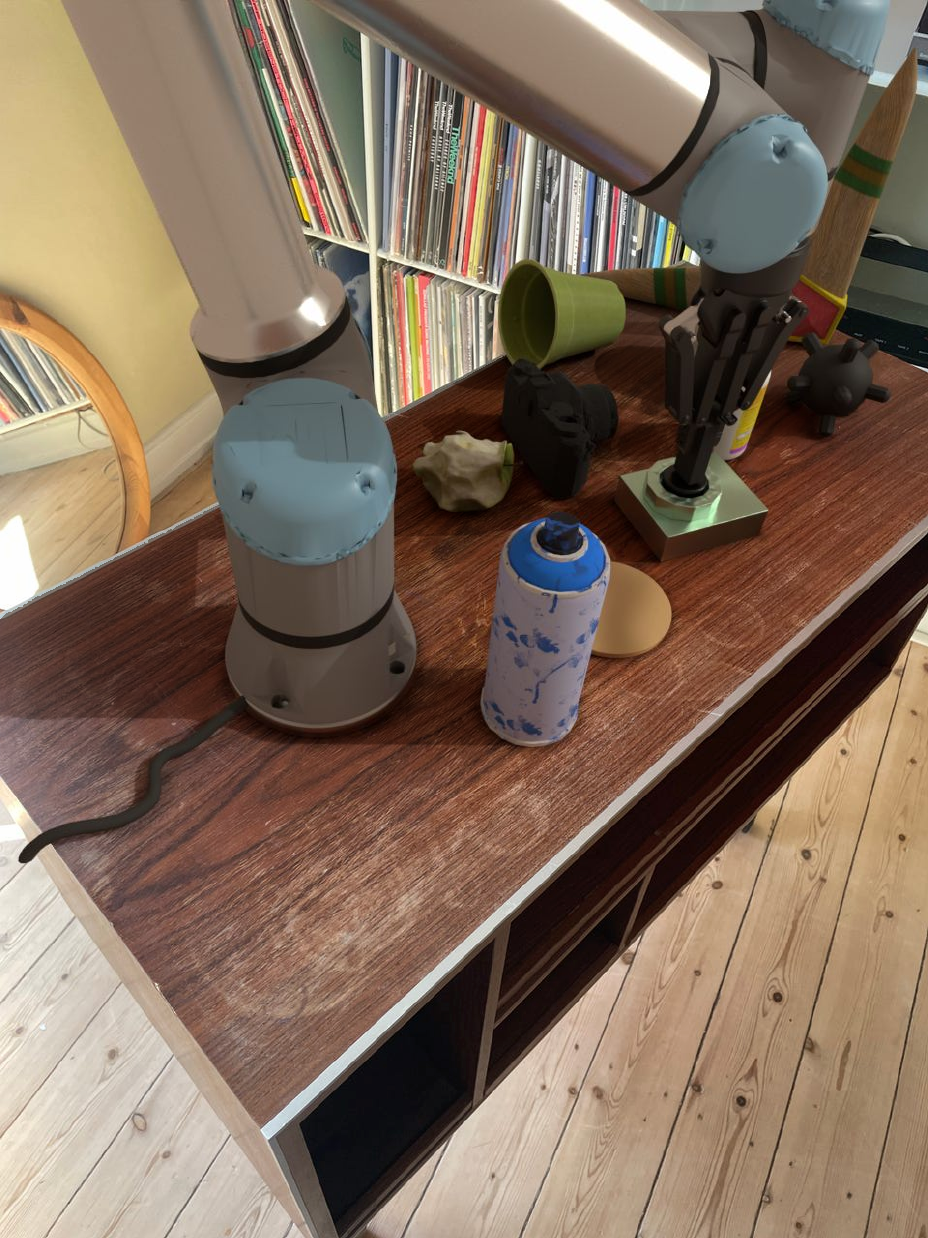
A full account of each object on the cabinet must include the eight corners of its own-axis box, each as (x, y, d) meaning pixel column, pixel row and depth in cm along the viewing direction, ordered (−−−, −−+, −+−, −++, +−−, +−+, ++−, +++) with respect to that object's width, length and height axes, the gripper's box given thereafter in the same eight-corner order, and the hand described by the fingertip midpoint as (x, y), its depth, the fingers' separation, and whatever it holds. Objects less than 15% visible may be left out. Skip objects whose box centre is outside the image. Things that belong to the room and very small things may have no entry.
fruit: (528, 504, 93) (542, 452, 86) (452, 546, 89) (460, 495, 82) (473, 442, 96) (482, 387, 89) (398, 480, 92) (401, 426, 85)
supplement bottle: (741, 427, 101) (778, 320, 91) (748, 466, 96) (787, 358, 87) (679, 420, 101) (709, 313, 91) (683, 459, 97) (715, 351, 87)
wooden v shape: (906, 68, 87) (915, 43, 91) (578, 276, 117) (595, 251, 121) (1004, 263, 96) (1009, 234, 99) (675, 411, 125) (688, 384, 129)
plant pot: (590, 382, 112) (511, 388, 107) (569, 286, 113) (488, 288, 107) (651, 343, 102) (566, 348, 97) (627, 238, 102) (541, 238, 97)
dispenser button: (673, 511, 86) (678, 495, 84) (651, 484, 88) (656, 467, 87) (710, 502, 87) (715, 485, 85) (687, 475, 89) (692, 458, 88)
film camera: (637, 486, 93) (656, 412, 87) (549, 506, 91) (562, 431, 84) (570, 399, 102) (583, 325, 96) (489, 415, 100) (496, 341, 93)
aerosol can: (587, 682, 77) (634, 499, 62) (564, 759, 72) (609, 580, 57) (496, 656, 78) (520, 470, 63) (467, 730, 73) (486, 547, 58)
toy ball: (806, 426, 109) (822, 468, 99) (757, 354, 105) (769, 390, 95) (894, 372, 104) (920, 411, 94) (846, 294, 100) (868, 326, 90)
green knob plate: (660, 562, 86) (672, 522, 83) (613, 500, 92) (623, 460, 88) (758, 534, 90) (774, 495, 86) (708, 476, 95) (721, 437, 91)
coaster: (581, 673, 77) (582, 668, 77) (524, 581, 84) (525, 577, 83) (693, 638, 81) (695, 633, 80) (631, 552, 87) (632, 548, 87)
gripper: (715, 262, 64) (646, 516, 82) (866, 235, 68) (769, 484, 86) (659, 213, 68) (606, 464, 86) (804, 190, 72) (724, 435, 90)
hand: (687, 474), depth 86 cm, fingers closed
